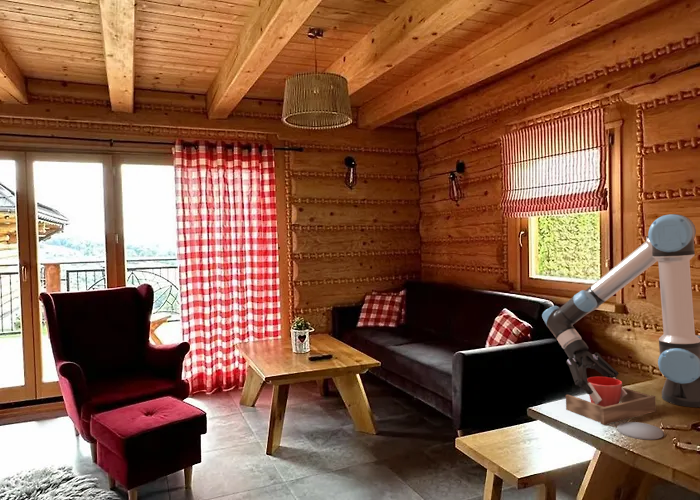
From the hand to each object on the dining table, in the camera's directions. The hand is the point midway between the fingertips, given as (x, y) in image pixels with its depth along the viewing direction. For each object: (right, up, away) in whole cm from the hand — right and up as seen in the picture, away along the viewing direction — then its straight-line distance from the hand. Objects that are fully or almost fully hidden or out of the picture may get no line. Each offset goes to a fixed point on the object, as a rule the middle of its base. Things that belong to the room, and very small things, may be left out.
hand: (611, 399), depth 168 cm
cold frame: (0, -4, +1) cm, 4 cm away
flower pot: (-1, -4, +3) cm, 5 cm away
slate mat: (0, -5, -17) cm, 18 cm away
